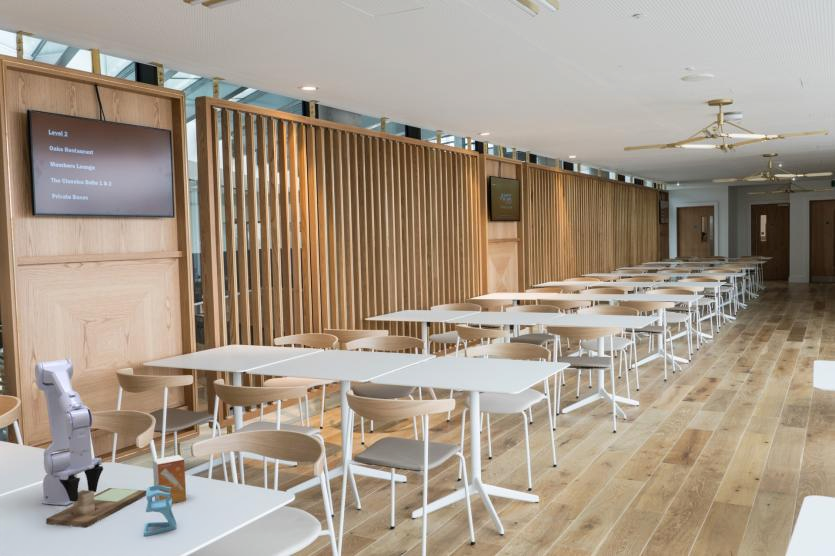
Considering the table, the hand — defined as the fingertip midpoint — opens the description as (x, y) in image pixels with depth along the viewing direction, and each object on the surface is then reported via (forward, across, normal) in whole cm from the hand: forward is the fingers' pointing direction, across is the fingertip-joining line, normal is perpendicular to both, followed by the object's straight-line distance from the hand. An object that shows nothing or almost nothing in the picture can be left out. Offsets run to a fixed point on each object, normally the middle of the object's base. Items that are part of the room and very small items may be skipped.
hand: (83, 496), depth 210 cm
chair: (+6, -4, -29) cm, 30 cm away
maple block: (+6, 0, 0) cm, 6 cm away
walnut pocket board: (+6, +6, 0) cm, 9 cm away
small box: (+6, +16, -18) cm, 25 cm away
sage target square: (+4, +13, 0) cm, 14 cm away
